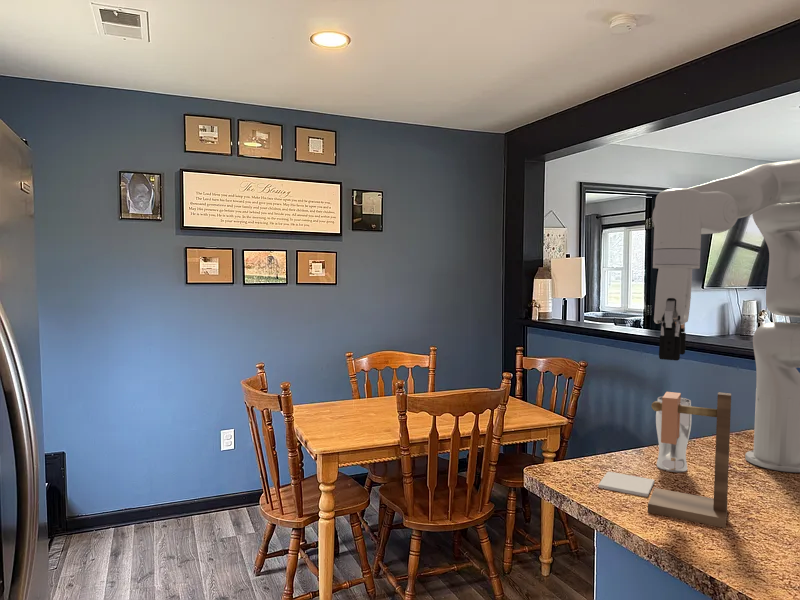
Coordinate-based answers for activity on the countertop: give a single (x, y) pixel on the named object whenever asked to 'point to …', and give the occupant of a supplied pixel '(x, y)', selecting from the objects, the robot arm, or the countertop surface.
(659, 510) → the stand
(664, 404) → the link
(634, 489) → the trivet
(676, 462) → the beer glass
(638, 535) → the countertop surface
